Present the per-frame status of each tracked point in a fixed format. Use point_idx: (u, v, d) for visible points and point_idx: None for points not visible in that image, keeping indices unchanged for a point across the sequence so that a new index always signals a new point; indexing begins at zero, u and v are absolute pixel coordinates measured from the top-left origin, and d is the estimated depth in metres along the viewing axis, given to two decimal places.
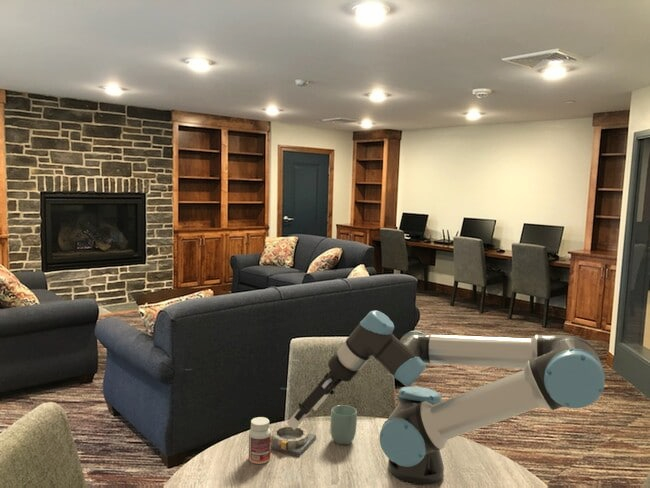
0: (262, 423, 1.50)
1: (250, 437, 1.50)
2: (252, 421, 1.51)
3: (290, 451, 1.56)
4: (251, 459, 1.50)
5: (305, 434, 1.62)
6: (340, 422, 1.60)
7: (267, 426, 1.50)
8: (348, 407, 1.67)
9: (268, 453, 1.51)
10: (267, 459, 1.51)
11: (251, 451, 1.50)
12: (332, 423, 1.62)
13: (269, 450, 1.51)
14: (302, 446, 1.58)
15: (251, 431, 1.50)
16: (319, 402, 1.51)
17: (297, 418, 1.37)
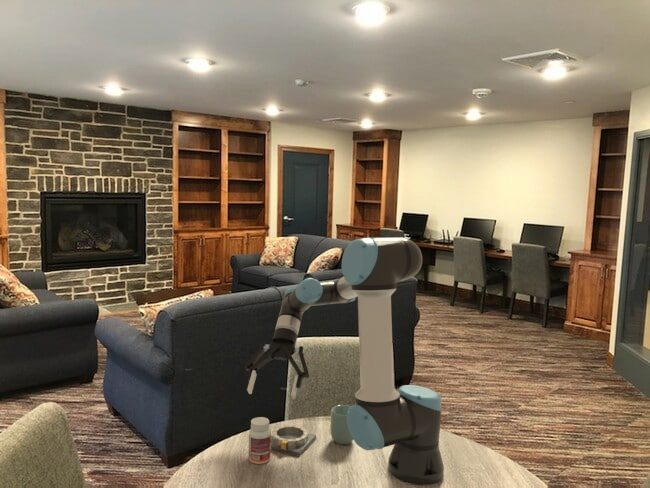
0: (262, 423, 1.50)
1: (250, 437, 1.50)
2: (252, 421, 1.51)
3: (290, 451, 1.56)
4: (251, 459, 1.50)
5: (305, 434, 1.62)
6: (340, 422, 1.60)
7: (267, 426, 1.50)
8: (348, 407, 1.67)
9: (268, 453, 1.51)
10: (267, 459, 1.51)
11: (251, 451, 1.50)
12: (332, 423, 1.62)
13: (269, 450, 1.51)
14: (302, 446, 1.58)
15: (251, 431, 1.50)
16: None
17: None
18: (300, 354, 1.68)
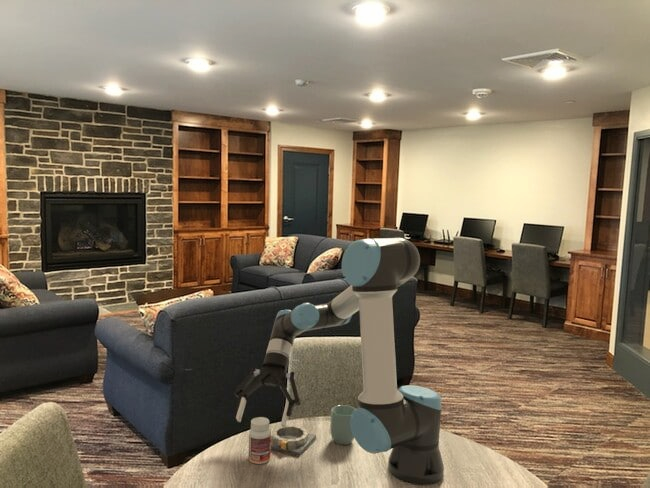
0: (262, 423, 1.50)
1: (250, 437, 1.50)
2: (252, 421, 1.51)
3: (290, 451, 1.56)
4: (251, 459, 1.50)
5: (305, 434, 1.62)
6: (340, 422, 1.60)
7: (267, 426, 1.50)
8: (348, 407, 1.67)
9: (268, 453, 1.51)
10: (267, 459, 1.51)
11: (251, 451, 1.50)
12: (332, 423, 1.62)
13: (269, 450, 1.51)
14: (302, 446, 1.58)
15: (251, 431, 1.50)
16: None
17: None
18: (291, 380, 1.62)
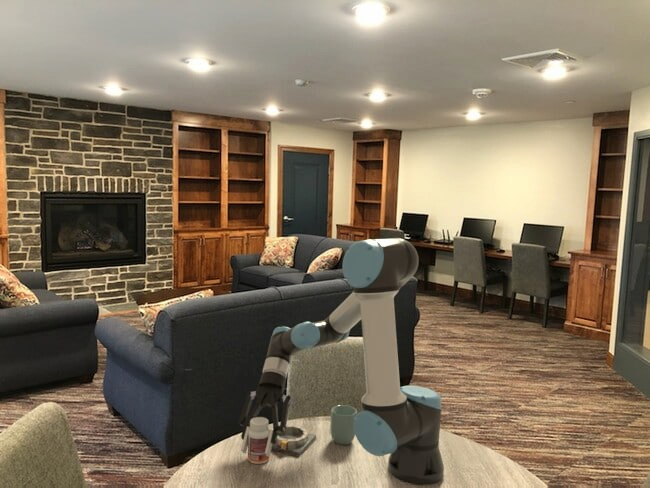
0: (261, 423, 1.50)
1: (249, 437, 1.50)
2: (251, 421, 1.51)
3: (290, 451, 1.56)
4: (250, 459, 1.50)
5: (305, 434, 1.62)
6: (340, 422, 1.60)
7: (266, 426, 1.50)
8: (348, 407, 1.67)
9: None
10: (266, 459, 1.51)
11: (250, 451, 1.50)
12: (332, 423, 1.62)
13: None
14: (302, 446, 1.58)
15: (250, 431, 1.50)
16: None
17: None
18: (284, 404, 1.56)
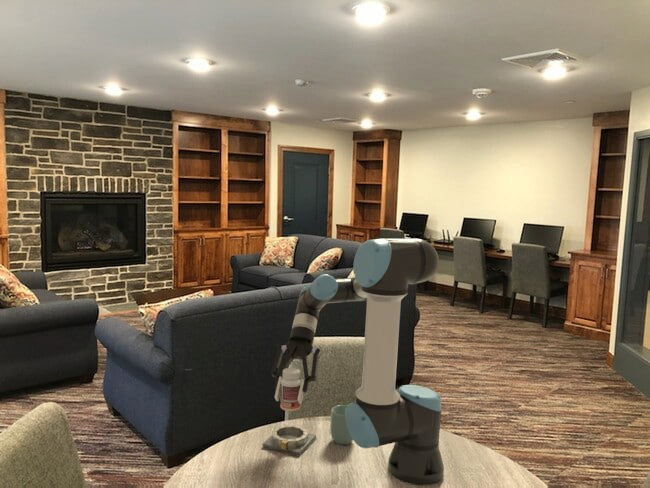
0: (293, 372, 1.58)
1: (282, 385, 1.58)
2: (284, 371, 1.59)
3: (290, 451, 1.56)
4: (283, 406, 1.59)
5: (305, 434, 1.62)
6: (340, 422, 1.60)
7: (298, 375, 1.58)
8: None
9: None
10: (298, 407, 1.59)
11: (283, 399, 1.58)
12: (332, 423, 1.62)
13: None
14: (302, 446, 1.58)
15: (283, 380, 1.59)
16: None
17: None
18: (314, 356, 1.64)
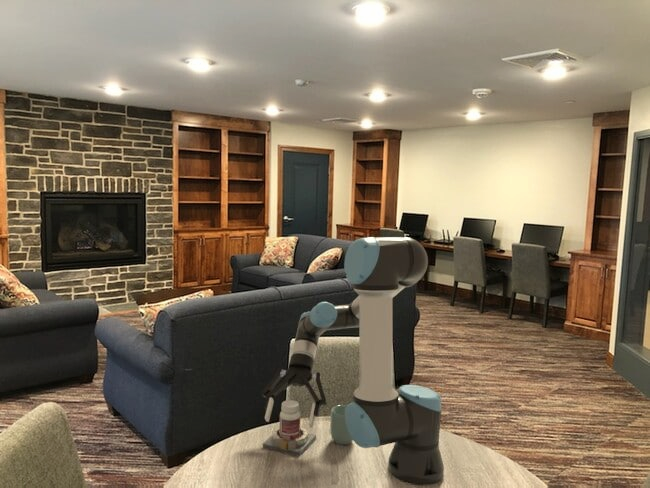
0: (292, 405, 1.59)
1: (281, 419, 1.60)
2: (283, 404, 1.60)
3: (290, 451, 1.56)
4: None
5: (305, 434, 1.62)
6: (340, 422, 1.60)
7: (297, 408, 1.60)
8: None
9: (298, 434, 1.60)
10: None
11: (282, 432, 1.59)
12: (332, 423, 1.62)
13: (299, 431, 1.61)
14: (302, 446, 1.58)
15: (282, 413, 1.60)
16: None
17: None
18: (317, 380, 1.66)
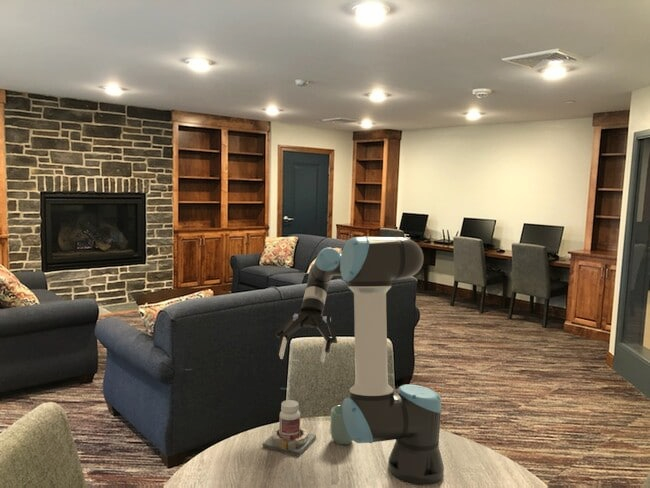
0: (292, 405, 1.59)
1: (281, 418, 1.60)
2: (282, 404, 1.60)
3: (290, 451, 1.56)
4: None
5: (305, 434, 1.62)
6: (340, 422, 1.60)
7: (297, 408, 1.60)
8: None
9: (298, 433, 1.60)
10: None
11: (282, 432, 1.60)
12: (332, 423, 1.62)
13: (298, 431, 1.61)
14: (302, 446, 1.58)
15: (282, 413, 1.60)
16: None
17: None
18: (328, 321, 1.77)
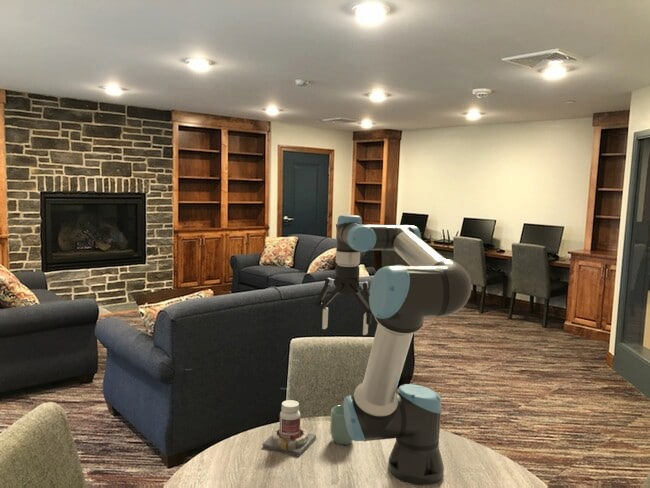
0: (292, 405, 1.59)
1: (281, 418, 1.60)
2: (283, 403, 1.60)
3: (290, 451, 1.56)
4: None
5: (305, 434, 1.62)
6: (340, 422, 1.60)
7: (297, 408, 1.60)
8: None
9: (298, 434, 1.60)
10: None
11: (282, 432, 1.60)
12: (332, 423, 1.62)
13: (299, 431, 1.61)
14: (302, 446, 1.58)
15: (282, 413, 1.60)
16: None
17: None
18: (365, 291, 1.66)
